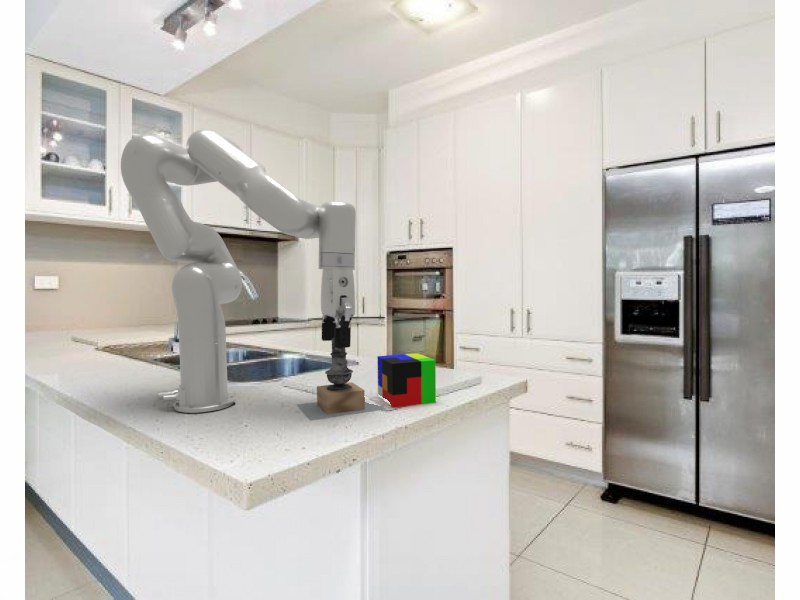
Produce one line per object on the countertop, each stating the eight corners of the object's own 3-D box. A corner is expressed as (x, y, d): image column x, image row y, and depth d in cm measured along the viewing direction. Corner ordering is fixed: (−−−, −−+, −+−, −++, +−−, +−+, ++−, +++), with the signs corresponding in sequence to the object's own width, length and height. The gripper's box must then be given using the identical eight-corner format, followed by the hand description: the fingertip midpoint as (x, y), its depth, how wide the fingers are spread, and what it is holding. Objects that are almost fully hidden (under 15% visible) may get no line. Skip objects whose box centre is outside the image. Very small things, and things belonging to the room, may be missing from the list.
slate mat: (309, 423, 87) (309, 420, 87) (296, 407, 98) (296, 404, 98) (386, 411, 94) (386, 409, 94) (365, 398, 104) (365, 395, 104)
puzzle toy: (378, 399, 104) (377, 356, 103) (417, 394, 107) (417, 353, 107) (392, 410, 95) (392, 363, 94) (435, 405, 98) (435, 360, 98)
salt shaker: (320, 387, 96) (319, 331, 96) (345, 383, 99) (344, 329, 99) (333, 393, 91) (331, 334, 91) (358, 388, 95) (357, 332, 94)
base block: (327, 414, 90) (326, 394, 90) (317, 404, 98) (316, 386, 97) (364, 409, 94) (364, 390, 93) (352, 399, 101) (351, 382, 101)
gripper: (368, 262, 88) (366, 349, 89) (341, 263, 103) (340, 337, 104) (330, 261, 85) (329, 351, 86) (309, 262, 100) (308, 338, 101)
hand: (335, 343), depth 95 cm, fingers open, 9 cm apart
